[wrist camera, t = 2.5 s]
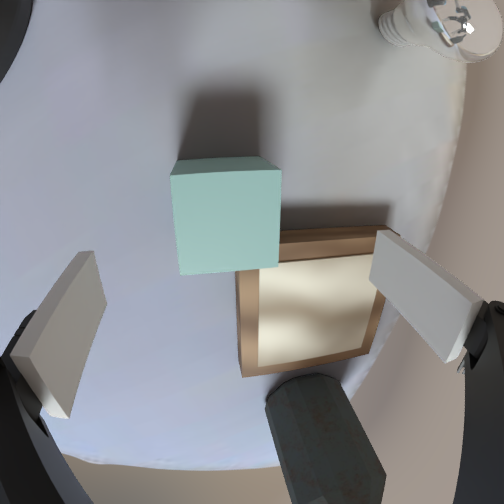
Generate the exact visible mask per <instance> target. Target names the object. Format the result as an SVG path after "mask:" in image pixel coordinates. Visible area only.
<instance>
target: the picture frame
mask: <svg viewBox="0 0 504 504" xmlns="http://www.w3.org/2000/svg"><path fill="white" fill-rule="evenodd" d="M377 230H391V231H392V232H394V233H395V234H397V235H398V236H400V235H399V234H398V233H396V232H395V231H393V230H392V229H390V228H389V227H387V226H386V225H374V226H354V227H335V228H317V229H301V230H284V231H280V238H279V262H278V267H274V268H263V269H252V270H241V271H235V280H236V309H237V335H238V358H239V364H240V369H241V374H242V378H244V377H252V376H259V375H266V374H272V373H279V372H285V371H291V370H296V369H302V368H307V367H312V366H317V365H322V364H327V363H331V362H336V361H340V360H345V359H349V358H353V357H357V356H361V355H365V354H369V351H370V348H371V345H372V342H373V339H374V336H375V333H376V330H377V327H378V323H379V320H380V317H381V313H382V310H383V306H384V303H385V299H386V297H385V296H384V295H383V294H382V293H381V292H380V291H379V290H378V289H377V288H376V287H375V286H374V285H373V284H372V283H371V282H370V281H369V275H370V270H371V265H372V259H373V254H374V248H375V242H376V236H377Z"/></svg>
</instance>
